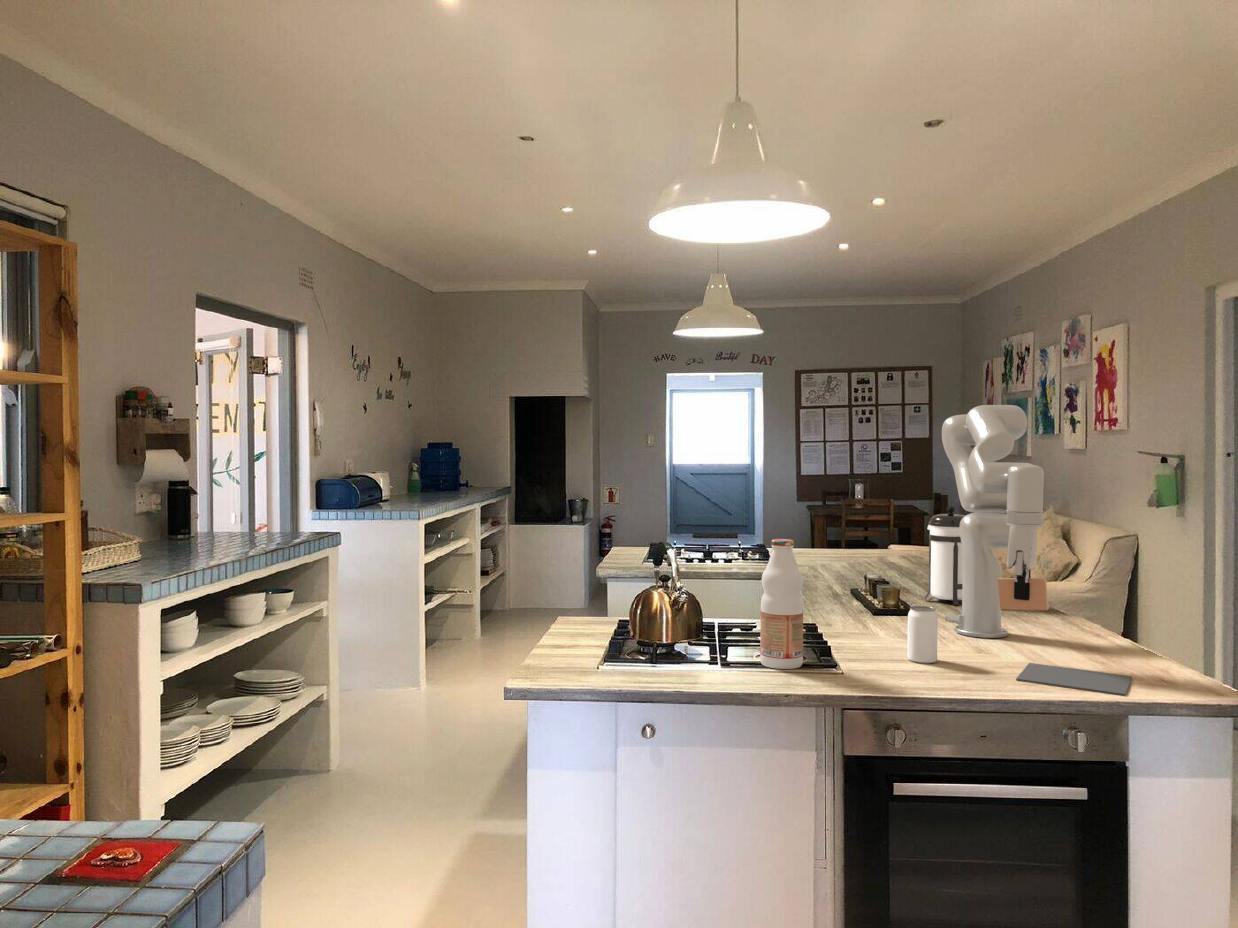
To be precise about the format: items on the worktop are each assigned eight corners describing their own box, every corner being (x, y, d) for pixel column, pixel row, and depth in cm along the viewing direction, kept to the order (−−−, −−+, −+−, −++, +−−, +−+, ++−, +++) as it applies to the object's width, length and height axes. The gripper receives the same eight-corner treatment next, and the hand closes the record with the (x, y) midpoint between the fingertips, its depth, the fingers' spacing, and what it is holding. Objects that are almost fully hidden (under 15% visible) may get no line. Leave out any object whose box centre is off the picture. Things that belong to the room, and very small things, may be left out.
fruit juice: (763, 669, 195) (765, 542, 194) (757, 659, 204) (758, 537, 203) (806, 670, 195) (808, 542, 194) (798, 659, 204) (799, 537, 203)
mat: (1016, 680, 187) (1016, 678, 187) (1029, 664, 200) (1029, 662, 200) (1125, 695, 176) (1125, 693, 176) (1131, 678, 189) (1131, 676, 189)
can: (936, 658, 206) (937, 606, 206) (937, 664, 200) (938, 611, 199) (907, 655, 208) (908, 604, 208) (906, 662, 202) (907, 609, 202)
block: (1000, 609, 206) (997, 579, 206) (1001, 607, 208) (999, 578, 208) (1047, 610, 201) (1044, 579, 201) (1048, 608, 202) (1046, 578, 202)
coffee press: (929, 605, 271) (930, 507, 271) (920, 596, 287) (921, 503, 286) (989, 607, 269) (990, 508, 268) (976, 598, 284) (978, 504, 283)
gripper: (1013, 515, 212) (1011, 591, 213) (1000, 521, 199) (998, 602, 200) (1047, 517, 208) (1045, 595, 209) (1036, 523, 195) (1034, 606, 196)
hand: (1022, 598), depth 204 cm, fingers closed on block, 1 cm apart
